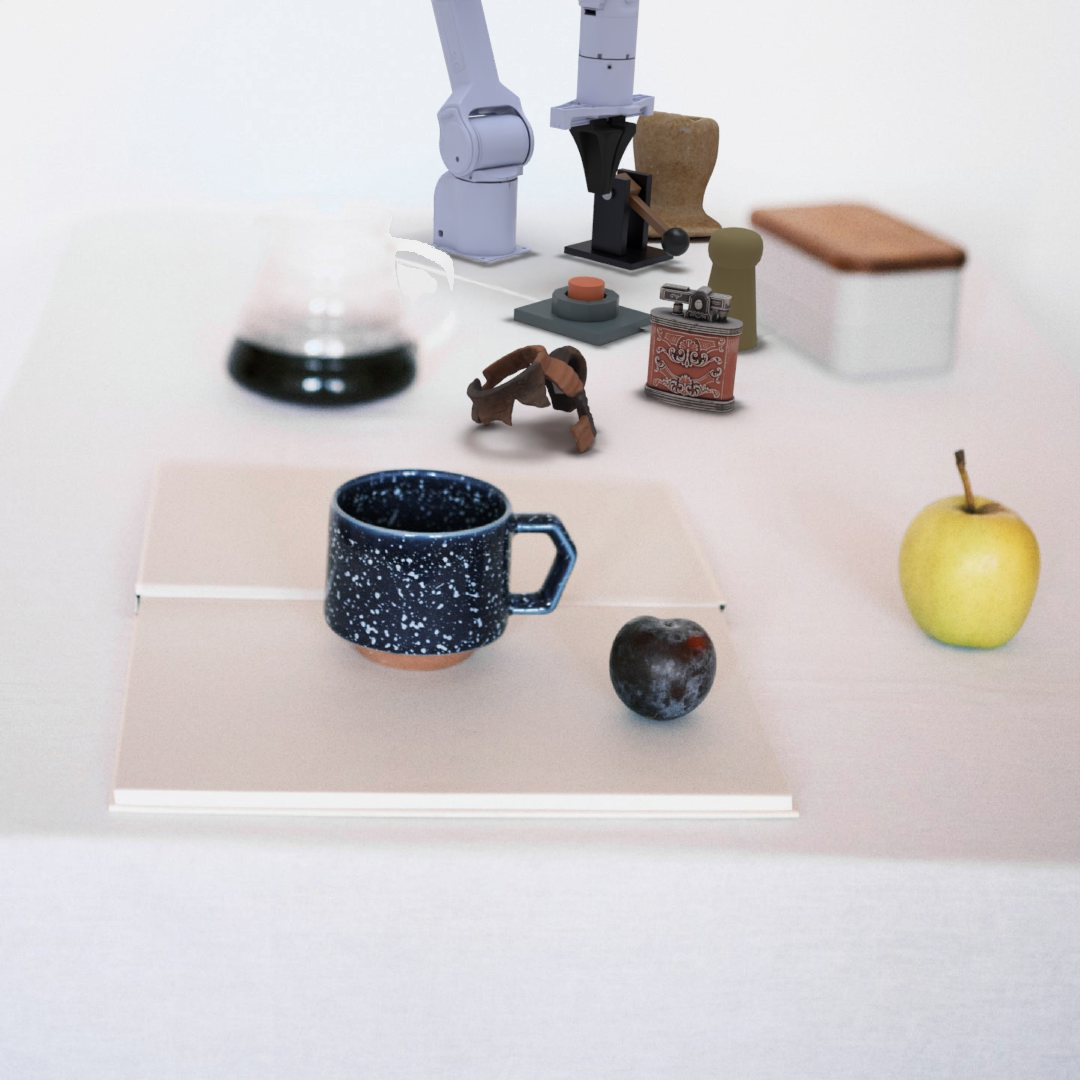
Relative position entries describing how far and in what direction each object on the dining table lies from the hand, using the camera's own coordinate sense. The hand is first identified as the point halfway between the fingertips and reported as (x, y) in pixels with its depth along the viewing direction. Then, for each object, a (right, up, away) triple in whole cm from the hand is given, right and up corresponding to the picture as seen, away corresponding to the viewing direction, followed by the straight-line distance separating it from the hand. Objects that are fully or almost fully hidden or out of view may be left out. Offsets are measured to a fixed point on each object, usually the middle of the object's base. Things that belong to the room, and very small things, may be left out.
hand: (598, 192), depth 144 cm
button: (-2, -12, -7) cm, 14 cm away
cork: (+12, -17, -10) cm, 23 cm away
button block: (-2, -15, -6) cm, 16 cm away
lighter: (+7, -24, -25) cm, 35 cm away
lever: (+6, -1, +12) cm, 14 cm away
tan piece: (+9, +2, +28) cm, 29 cm away
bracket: (+3, -4, +16) cm, 17 cm away
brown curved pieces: (-6, -28, -33) cm, 43 cm away
